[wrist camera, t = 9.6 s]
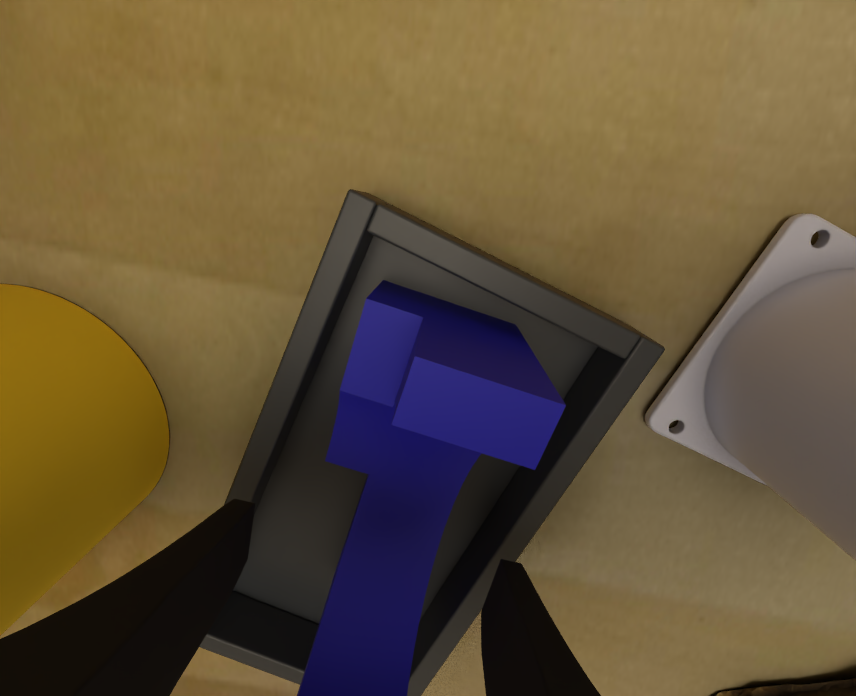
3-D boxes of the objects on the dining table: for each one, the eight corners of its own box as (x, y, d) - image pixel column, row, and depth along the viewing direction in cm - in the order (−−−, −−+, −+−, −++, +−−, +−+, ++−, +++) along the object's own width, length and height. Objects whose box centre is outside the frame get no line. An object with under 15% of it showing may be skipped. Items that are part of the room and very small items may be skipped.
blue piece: (383, 279, 13) (336, 330, 8) (515, 324, 14) (566, 405, 8) (299, 561, 17) (225, 738, 11) (405, 592, 17) (385, 779, 12)
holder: (628, 324, 14) (667, 348, 12) (407, 658, 19) (401, 723, 17) (366, 192, 13) (348, 188, 11) (208, 580, 18) (170, 637, 16)
